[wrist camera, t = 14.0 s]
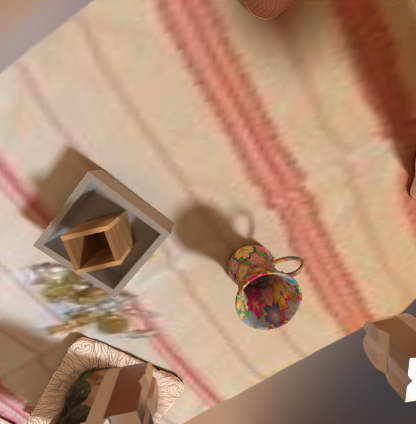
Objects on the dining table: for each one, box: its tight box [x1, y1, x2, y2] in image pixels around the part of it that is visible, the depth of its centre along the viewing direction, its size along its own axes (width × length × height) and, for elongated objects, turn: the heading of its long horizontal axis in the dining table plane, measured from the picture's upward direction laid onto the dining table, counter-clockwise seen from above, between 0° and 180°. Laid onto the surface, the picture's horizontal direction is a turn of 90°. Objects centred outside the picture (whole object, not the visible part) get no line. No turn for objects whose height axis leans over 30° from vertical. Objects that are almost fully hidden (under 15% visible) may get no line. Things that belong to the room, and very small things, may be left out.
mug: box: [228, 245, 305, 330], centre depth 35 cm, size 12×9×11 cm
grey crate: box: [33, 169, 173, 297], centre depth 34 cm, size 14×14×5 cm
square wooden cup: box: [60, 210, 137, 274], centre depth 32 cm, size 6×6×8 cm
